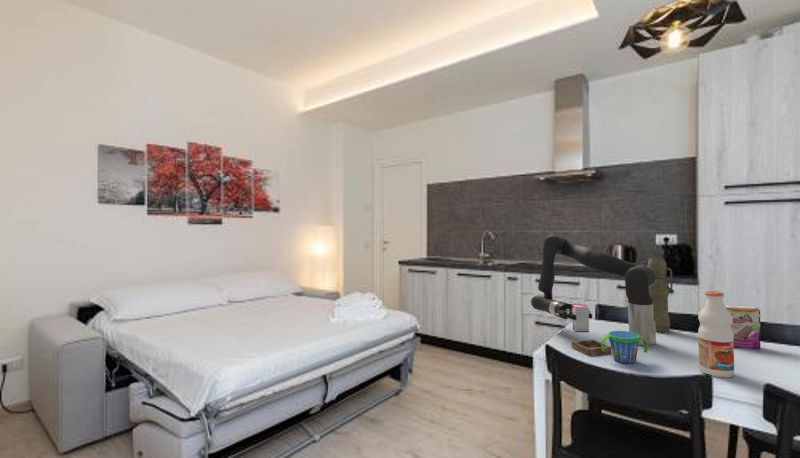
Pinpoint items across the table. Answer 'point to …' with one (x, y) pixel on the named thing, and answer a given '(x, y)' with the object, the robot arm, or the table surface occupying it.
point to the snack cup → (624, 345)
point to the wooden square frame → (590, 347)
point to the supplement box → (581, 318)
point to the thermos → (660, 293)
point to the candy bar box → (745, 326)
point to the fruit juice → (715, 337)
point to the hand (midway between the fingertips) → (583, 317)
